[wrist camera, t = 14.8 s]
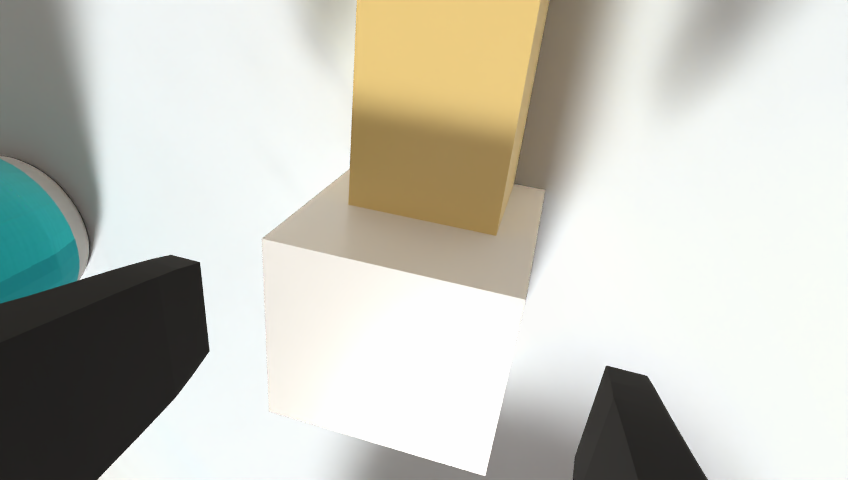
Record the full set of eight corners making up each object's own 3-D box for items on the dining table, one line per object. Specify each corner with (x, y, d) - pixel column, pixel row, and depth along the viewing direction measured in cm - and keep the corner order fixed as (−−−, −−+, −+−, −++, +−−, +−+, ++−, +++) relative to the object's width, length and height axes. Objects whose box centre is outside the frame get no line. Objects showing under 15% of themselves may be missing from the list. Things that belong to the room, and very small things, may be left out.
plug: (645, -255, 9) (708, -487, 4) (514, 326, 14) (484, 475, 10) (390, -264, 10) (232, -467, 5) (358, 289, 15) (268, 411, 11)
